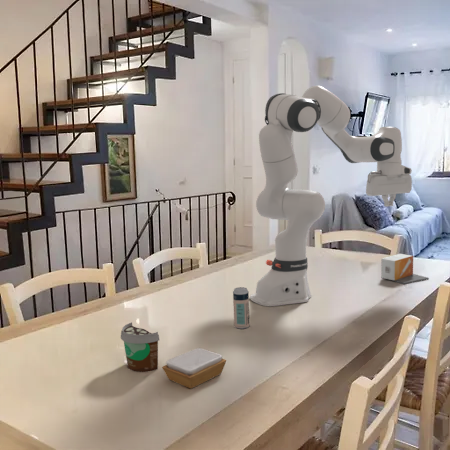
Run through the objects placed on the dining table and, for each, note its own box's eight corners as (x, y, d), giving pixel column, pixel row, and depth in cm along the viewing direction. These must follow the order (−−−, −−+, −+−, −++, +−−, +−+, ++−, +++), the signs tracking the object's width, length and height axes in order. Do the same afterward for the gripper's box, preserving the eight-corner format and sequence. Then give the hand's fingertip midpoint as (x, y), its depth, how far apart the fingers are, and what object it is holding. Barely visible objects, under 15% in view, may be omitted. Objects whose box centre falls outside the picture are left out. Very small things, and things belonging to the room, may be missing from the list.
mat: (404, 284, 199) (404, 282, 199) (381, 277, 209) (381, 276, 209) (428, 279, 204) (428, 277, 204) (405, 273, 215) (405, 271, 215)
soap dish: (190, 393, 117) (189, 372, 116) (162, 381, 124) (161, 361, 123) (227, 374, 126) (226, 354, 125) (199, 364, 133) (198, 345, 132)
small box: (395, 260, 200) (413, 255, 208) (381, 258, 205) (399, 253, 213) (394, 281, 202) (413, 274, 210) (380, 278, 207) (399, 272, 215)
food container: (113, 365, 134) (110, 328, 132) (133, 357, 138) (130, 321, 136) (141, 378, 125) (138, 339, 123) (161, 370, 129) (159, 332, 128)
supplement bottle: (246, 323, 161) (244, 286, 160) (252, 328, 157) (251, 289, 155) (231, 325, 160) (230, 288, 158) (237, 330, 155) (236, 291, 154)
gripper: (374, 171, 189) (373, 209, 191) (414, 169, 198) (414, 204, 200) (362, 171, 195) (362, 207, 197) (402, 168, 204) (401, 203, 206)
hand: (388, 206), depth 198 cm, fingers closed
